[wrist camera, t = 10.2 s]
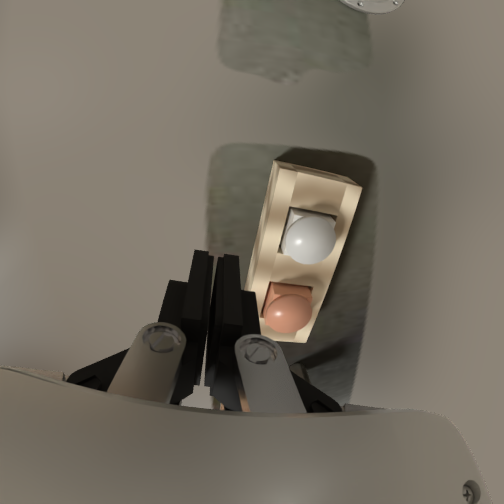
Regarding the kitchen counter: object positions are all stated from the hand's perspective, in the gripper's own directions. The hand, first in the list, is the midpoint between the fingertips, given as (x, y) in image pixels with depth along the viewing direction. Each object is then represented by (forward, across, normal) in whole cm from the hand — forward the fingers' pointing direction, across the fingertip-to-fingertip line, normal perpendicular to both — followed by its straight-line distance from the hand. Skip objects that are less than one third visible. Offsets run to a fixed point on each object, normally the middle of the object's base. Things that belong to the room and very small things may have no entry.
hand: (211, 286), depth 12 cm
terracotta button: (+25, -11, +16) cm, 32 cm away
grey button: (+26, -11, +6) cm, 29 cm away
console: (+27, -11, +11) cm, 31 cm away
